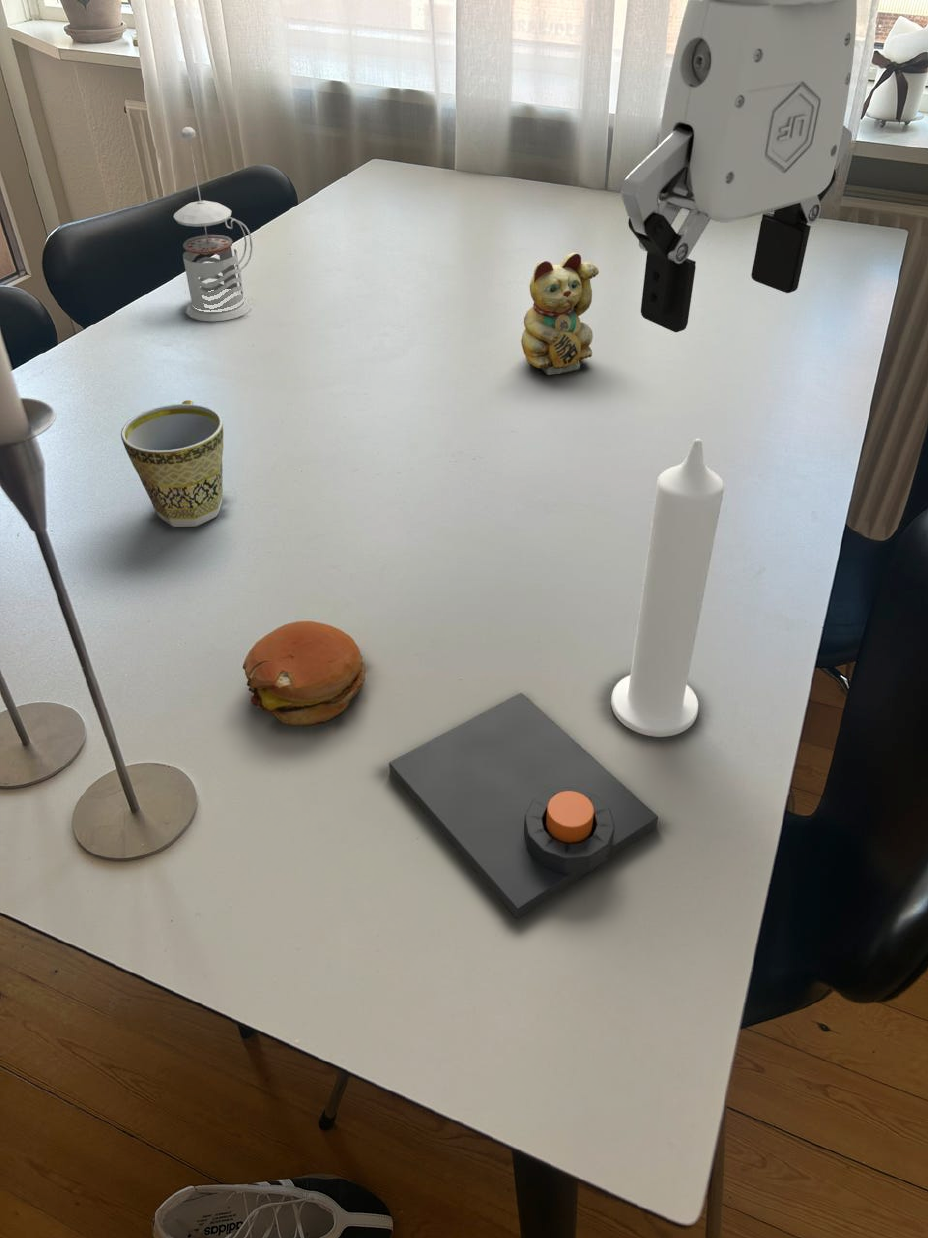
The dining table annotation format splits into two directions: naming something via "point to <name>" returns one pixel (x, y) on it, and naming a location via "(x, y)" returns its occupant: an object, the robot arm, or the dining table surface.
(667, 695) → the candle
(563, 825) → the button
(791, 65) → the robot arm
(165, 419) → the ceramic cup
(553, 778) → the scale
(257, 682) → the burger
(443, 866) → the dining table surface
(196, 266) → the french press
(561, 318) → the decorative figurine
